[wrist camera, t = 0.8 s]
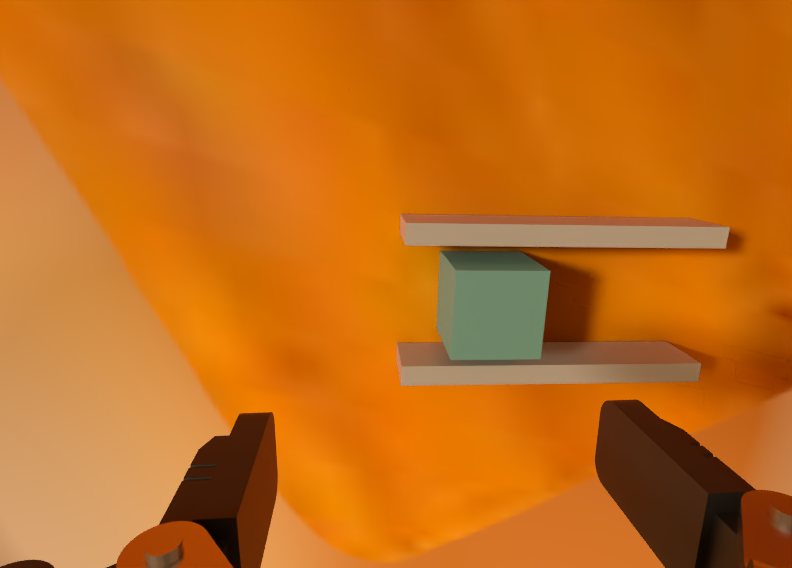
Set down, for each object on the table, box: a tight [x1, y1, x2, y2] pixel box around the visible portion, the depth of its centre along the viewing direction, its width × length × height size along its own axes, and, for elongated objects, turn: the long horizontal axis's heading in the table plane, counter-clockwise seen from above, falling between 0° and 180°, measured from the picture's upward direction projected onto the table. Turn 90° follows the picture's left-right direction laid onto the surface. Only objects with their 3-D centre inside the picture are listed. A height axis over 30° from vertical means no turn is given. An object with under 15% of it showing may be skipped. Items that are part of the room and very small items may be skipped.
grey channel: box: [396, 214, 730, 386], centre depth 30 cm, size 9×18×4 cm, turn 89°
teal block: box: [436, 251, 551, 360], centre depth 29 cm, size 5×5×5 cm
